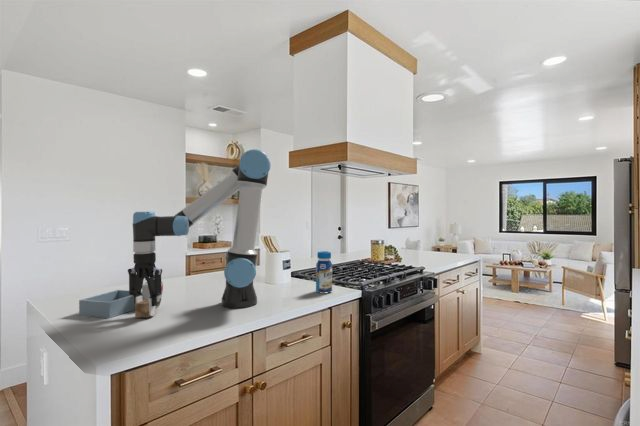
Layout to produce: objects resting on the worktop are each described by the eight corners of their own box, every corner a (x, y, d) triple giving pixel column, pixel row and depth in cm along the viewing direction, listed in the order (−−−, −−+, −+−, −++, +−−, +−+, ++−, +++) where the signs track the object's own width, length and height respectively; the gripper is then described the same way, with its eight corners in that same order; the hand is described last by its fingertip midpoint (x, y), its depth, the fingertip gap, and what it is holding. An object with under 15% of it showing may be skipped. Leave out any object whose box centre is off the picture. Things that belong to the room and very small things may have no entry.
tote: (145, 305, 153) (145, 291, 153) (109, 318, 135) (109, 302, 135) (118, 303, 157) (118, 289, 157) (79, 315, 138) (79, 300, 138)
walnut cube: (156, 313, 138) (155, 300, 138) (146, 317, 134) (146, 304, 134) (145, 313, 140) (144, 300, 140) (135, 316, 135) (134, 303, 135)
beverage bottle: (321, 289, 187) (322, 250, 187) (335, 291, 182) (335, 251, 182) (312, 292, 180) (312, 252, 180) (326, 294, 175) (326, 253, 175)
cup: (154, 310, 146) (154, 285, 146) (137, 309, 148) (137, 284, 148) (167, 305, 154) (167, 281, 154) (150, 304, 156) (150, 280, 156)
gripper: (171, 251, 138) (173, 312, 138) (131, 250, 142) (133, 310, 143) (158, 254, 131) (159, 318, 131) (116, 253, 135) (118, 315, 135)
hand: (145, 314), depth 137 cm, fingers closed on walnut cube, 5 cm apart
